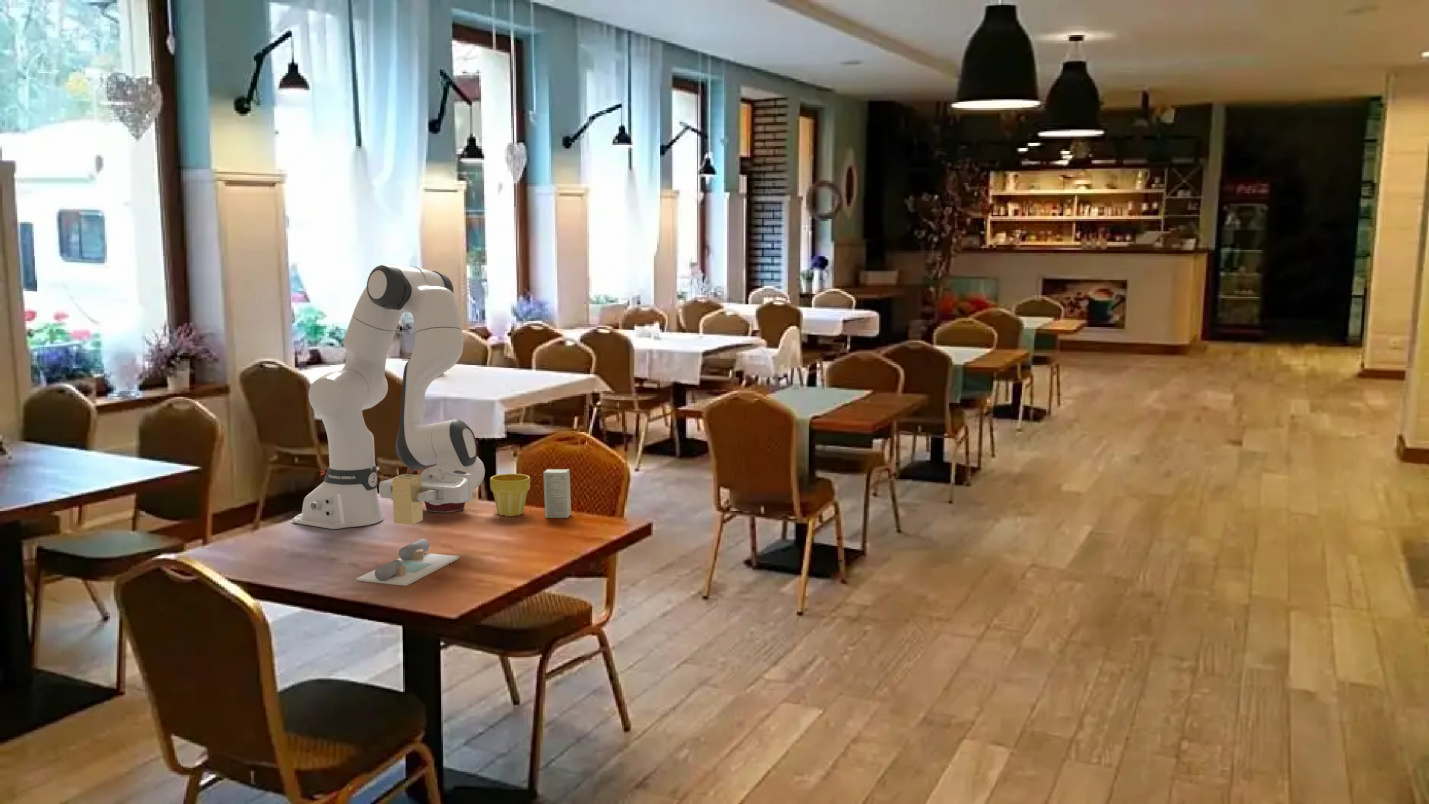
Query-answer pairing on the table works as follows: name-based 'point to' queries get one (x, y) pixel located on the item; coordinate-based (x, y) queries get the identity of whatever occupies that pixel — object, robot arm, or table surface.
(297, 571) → the table surface
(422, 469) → the pink clay mug
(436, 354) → the robot arm
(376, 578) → the white flat board
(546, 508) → the skincare box
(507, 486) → the plant pot
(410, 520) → the block
